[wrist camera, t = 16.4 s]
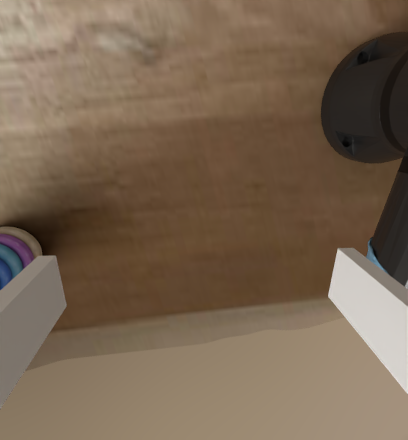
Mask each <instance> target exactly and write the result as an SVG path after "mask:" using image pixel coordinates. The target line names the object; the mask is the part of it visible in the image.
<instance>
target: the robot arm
mask: <svg viewBox="0 0 408 440" xmlns="http://www.w3.org/2000/svg"><path fill="white" fill-rule="evenodd" d="M321 119H322V126H323V130H324V133H325V136H326V138H327V140H328V142H329V143H330V145H331V146H332V147H333V148H334V149H335V150H336V151H337V152H338V153H339V154H340V155H342V156H344V157H346V158H348V159H351V160H354V161H359V162H364V163H384V162H388V161H392V160H396V159H400V158H403V160H402V162H401V165H400V168H399V171H398V172H397V175H396V178H395V181H394V183H393V186H392V189H391V191H390V194H389V196H388V199H387V202H386V204H385V207H384V209H383V212H382V215H381V217H380V220H379V222H378V225H377V228H376V230H375V233H374V235H373V237H372V238H370V240H369V242H368V253H367V256H366V257H365V256H363V255H362V254H361V253H359V252H358V251H357V250H355V249H354V248H338V250H337V255H336V260H335V265H334V270H333V275H332V280H331V285H330V290H329V295H328V297H329V298H330V299H331V300H332V302H333V303H334V304H335V305H336V307H337V308H338V309H339V310H340V311H341V313H342V314H343V315H344V316H345V318H346V319H347V320H348V321H349V322H350V324H351V325H352V326H353V327H354V329H355V330H356V331H357V332H358V333H359V335H360V336H361V337H362V338H363V340H364V341H365V342H366V343H367V345H368V346H369V347H370V348H371V350H372V351H373V352H374V353H375V354H376V356H377V357H378V358H379V359H380V361H381V362H382V363H383V364H384V365H385V367H386V368H387V369H388V370H389V372H390V373H391V374H392V375H393V377H394V378H395V379H396V380H397V381H398V383H399V384H400V385H401V386H402V388H403V389H404V390H405V391H406V393H407V394H408V32H397V33H391V34H386V35H383V36H380V37H378V38H375V39H373V40H371V41H369V42H366V43H364V44H362V45H360V46H359V47H357V48H356V49H354V50H353V51H352V52H351V53H349V54H348V55H347V56H346V57H345V58H344V59H343V60H342V61H341V62H340V64H339V65H338V66H337V68H336V69H335V71H334V72H333V74H332V76H331V77H330V79H329V81H328V84H327V86H326V89H325V92H324V96H323V100H322V107H321ZM66 306H67V305H66V301H65V296H64V291H63V287H62V282H61V278H60V273H59V268H58V264H57V259H56V256H38V257H36V258H35V259H34V260H33V261H32V262H31V263H30V264H29V265H28V266H27V267H26V268H24V269H23V270H22V271H21V272H20V273H19V274H18V275H17V276H16V277H15V278H13V279H12V280H11V281H10V282H9V283H8V284H7V285H6V286H5V287H4V288H3V289H1V290H0V408H1V407H2V405H3V404H4V402H5V400H6V399H7V398H8V396H9V395H10V393H11V392H12V390H13V388H14V387H15V385H16V384H17V382H18V381H19V379H20V378H21V376H22V374H23V373H24V371H25V370H26V368H27V367H28V365H29V364H30V362H31V361H32V359H33V357H34V356H35V354H36V353H37V351H38V350H39V348H40V347H41V345H42V343H43V342H44V340H45V339H46V337H47V336H48V334H49V333H50V331H51V330H52V328H53V326H54V325H55V323H56V322H57V320H58V319H59V317H60V316H61V314H62V312H63V311H64V309H65V308H66Z"/></svg>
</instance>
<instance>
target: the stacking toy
mask: <svg viewBox="0 0 408 440" xmlns="http://www.w3.org/2000/svg"><path fill="white" fill-rule="evenodd" d="M38 256H42V249H41V246H40V244H39V243H38V241H37V240H36V239H35V238H34V237H33V236H32V235H31V234H29V233H28V232H26V231H24V230H22V229H19V228H16V227H0V290H1V289H3V288H4V287H5V286H6V285H7V284H8V283H9V282H10V281H11V280H12V279H13V278H15V277H16V276H17V275H18V274H19V273H20V272H21V271H22V270H23V269H24V268H26V267H27V266H28V265H29V264H30V263H31V262H32V261H33V260H34V259H35V258H36V257H38Z"/></svg>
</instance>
